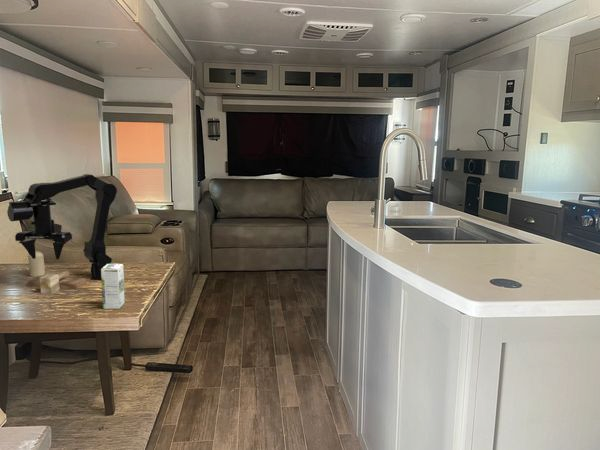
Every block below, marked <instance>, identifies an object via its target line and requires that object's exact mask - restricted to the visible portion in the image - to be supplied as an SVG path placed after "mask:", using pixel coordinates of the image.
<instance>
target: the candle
mask: <svg viewBox="0 0 600 450" xmlns="http://www.w3.org/2000/svg"><path fill="white" fill-rule="evenodd" d="M35 253H36V258H35V259H33V258H32V257H31V255H30V254H29V253H28V254H29V255H27V261H28V268H29V269H28V270H29V276H30V277H32V278H36V277H37V276H38V277H43V276H45V275H46V270H45V269H46V267H45V260H44V258H45V257H44V254H43V252H41V251H36V250H35Z"/></svg>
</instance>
